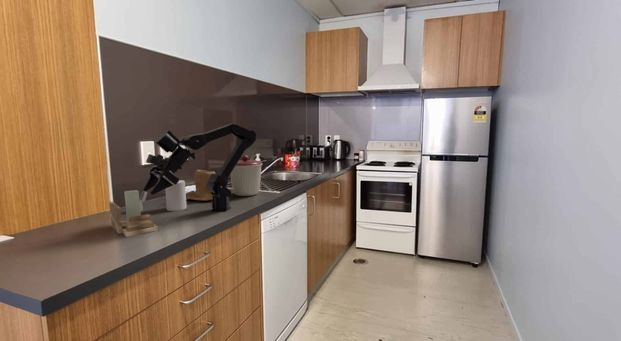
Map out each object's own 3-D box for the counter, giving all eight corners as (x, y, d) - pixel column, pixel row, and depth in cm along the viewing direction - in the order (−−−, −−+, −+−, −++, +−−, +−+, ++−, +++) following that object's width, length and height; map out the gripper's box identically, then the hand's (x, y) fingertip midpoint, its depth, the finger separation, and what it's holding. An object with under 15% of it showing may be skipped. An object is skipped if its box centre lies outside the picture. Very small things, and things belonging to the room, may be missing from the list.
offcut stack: (150, 224, 113) (150, 213, 113) (154, 226, 110) (153, 215, 110) (125, 229, 108) (124, 217, 108) (128, 232, 105) (127, 220, 105)
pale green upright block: (139, 224, 118) (136, 190, 116) (141, 226, 116) (138, 191, 114) (127, 226, 115) (124, 191, 113) (129, 228, 113) (126, 192, 111)
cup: (189, 206, 144) (188, 180, 143) (180, 211, 136) (179, 183, 135) (172, 206, 145) (171, 180, 143) (162, 210, 137) (160, 183, 135)
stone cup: (222, 198, 160) (220, 169, 158) (205, 203, 149) (203, 172, 147) (199, 195, 166) (198, 167, 164) (181, 200, 156) (179, 170, 154)
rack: (144, 220, 123) (143, 197, 122) (158, 230, 110) (156, 205, 109) (111, 226, 116) (109, 202, 114) (122, 237, 103) (119, 210, 102)
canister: (237, 190, 180) (236, 153, 177) (268, 191, 176) (267, 153, 173) (222, 197, 162) (220, 156, 159) (256, 198, 159) (254, 156, 156)
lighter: (134, 212, 134) (133, 194, 133) (131, 212, 135) (130, 193, 134) (148, 208, 141) (147, 191, 140) (146, 208, 141) (144, 190, 140)
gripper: (152, 145, 125) (122, 176, 120) (167, 147, 112) (135, 182, 106) (173, 163, 132) (147, 193, 126) (191, 167, 118) (162, 201, 112)
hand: (147, 192), depth 117 cm, fingers open, 9 cm apart
